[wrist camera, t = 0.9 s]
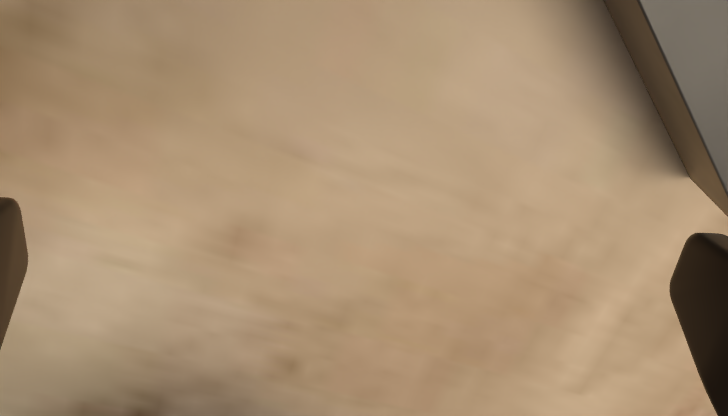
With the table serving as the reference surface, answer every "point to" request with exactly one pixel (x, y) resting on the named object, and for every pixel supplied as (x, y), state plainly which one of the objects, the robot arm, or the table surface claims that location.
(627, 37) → the holder
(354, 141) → the table surface
